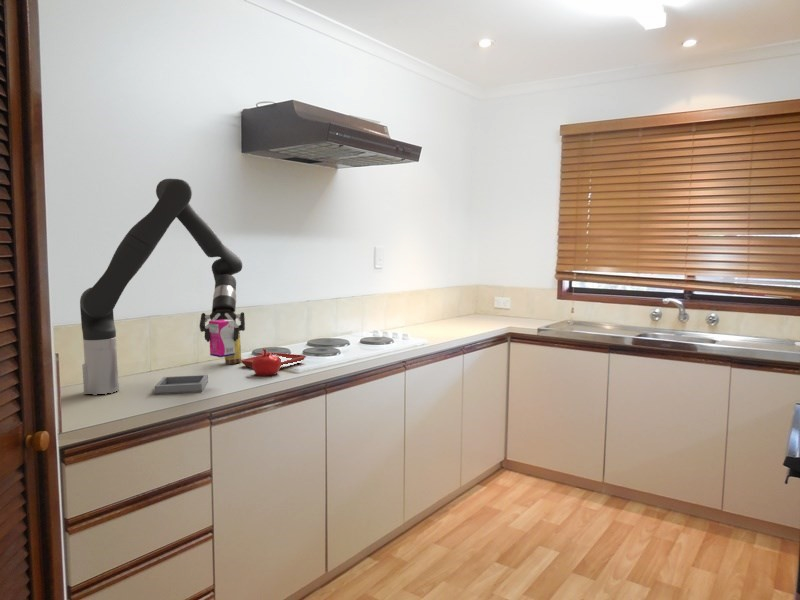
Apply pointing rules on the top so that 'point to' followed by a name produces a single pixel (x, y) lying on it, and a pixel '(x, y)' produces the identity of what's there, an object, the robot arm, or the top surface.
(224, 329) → the supplement box
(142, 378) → the top surface
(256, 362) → the pomegranate
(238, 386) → the top surface
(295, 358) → the red square tray
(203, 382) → the tray
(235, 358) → the sauce bottle
